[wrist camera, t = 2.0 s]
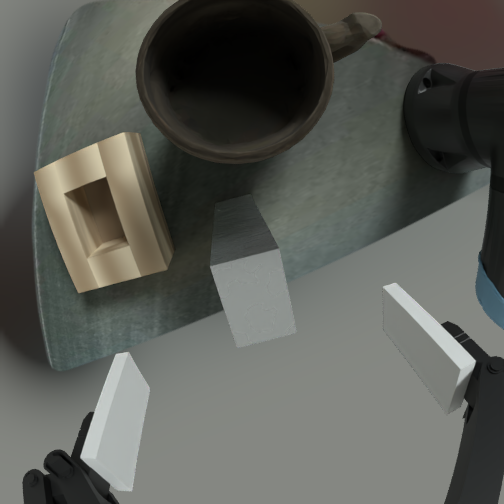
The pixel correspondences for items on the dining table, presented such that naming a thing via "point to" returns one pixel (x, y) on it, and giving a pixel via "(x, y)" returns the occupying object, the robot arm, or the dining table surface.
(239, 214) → the tall grey pillar
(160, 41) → the beer stein
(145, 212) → the well block
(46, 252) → the dining table surface
